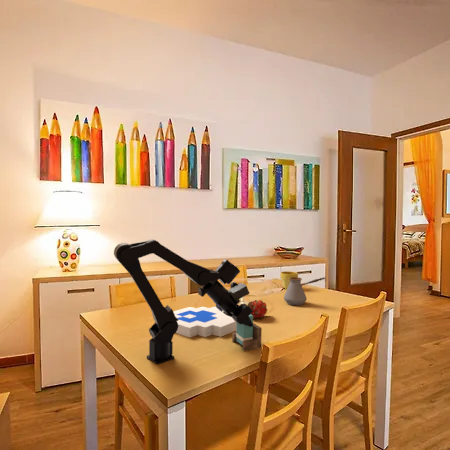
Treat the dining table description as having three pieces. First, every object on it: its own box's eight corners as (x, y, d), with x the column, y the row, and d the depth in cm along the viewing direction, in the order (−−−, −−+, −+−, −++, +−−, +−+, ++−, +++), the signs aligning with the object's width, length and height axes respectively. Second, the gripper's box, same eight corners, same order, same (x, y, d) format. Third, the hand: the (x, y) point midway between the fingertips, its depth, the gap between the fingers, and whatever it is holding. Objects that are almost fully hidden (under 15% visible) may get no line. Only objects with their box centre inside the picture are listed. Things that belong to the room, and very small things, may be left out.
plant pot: (301, 289, 210) (301, 273, 209) (287, 291, 204) (288, 274, 204) (289, 286, 218) (290, 270, 218) (276, 287, 213) (277, 271, 213)
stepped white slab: (205, 332, 124) (154, 316, 141) (205, 344, 124) (154, 326, 142) (251, 315, 145) (202, 303, 163) (251, 324, 145) (202, 311, 163)
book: (243, 346, 119) (243, 316, 119) (236, 340, 124) (236, 312, 124) (252, 344, 120) (253, 315, 120) (245, 339, 125) (245, 311, 125)
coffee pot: (279, 304, 176) (280, 274, 176) (288, 299, 186) (289, 271, 185) (321, 311, 165) (322, 279, 164) (329, 305, 174) (329, 275, 174)
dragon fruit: (246, 324, 150) (262, 322, 158) (260, 315, 145) (276, 313, 154) (238, 305, 154) (255, 304, 162) (252, 296, 149) (269, 296, 158)
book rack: (244, 351, 117) (244, 330, 117) (232, 341, 126) (232, 321, 125) (261, 348, 120) (261, 327, 119) (248, 338, 128) (248, 319, 128)
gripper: (247, 281, 111) (276, 312, 116) (224, 271, 128) (250, 299, 133) (224, 308, 108) (255, 339, 113) (203, 295, 125) (231, 322, 130)
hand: (248, 323), depth 122 cm, fingers closed on book, 5 cm apart
